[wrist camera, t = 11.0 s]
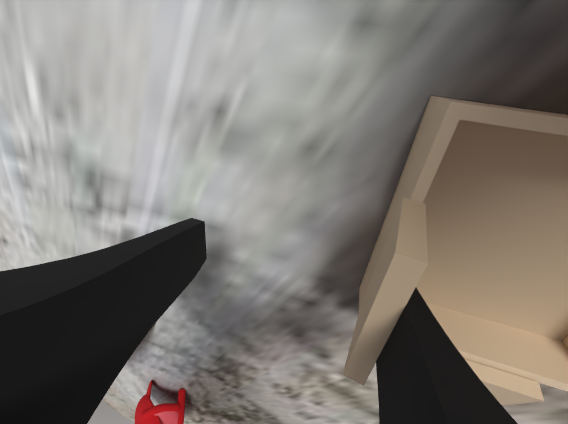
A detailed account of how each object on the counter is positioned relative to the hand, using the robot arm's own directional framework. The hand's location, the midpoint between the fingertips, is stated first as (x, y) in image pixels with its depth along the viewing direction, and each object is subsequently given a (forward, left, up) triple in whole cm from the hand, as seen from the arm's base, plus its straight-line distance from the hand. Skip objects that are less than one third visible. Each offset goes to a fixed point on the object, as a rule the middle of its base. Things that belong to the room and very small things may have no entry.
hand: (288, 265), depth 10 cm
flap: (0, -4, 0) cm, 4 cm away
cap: (-34, +14, -6) cm, 37 cm away
